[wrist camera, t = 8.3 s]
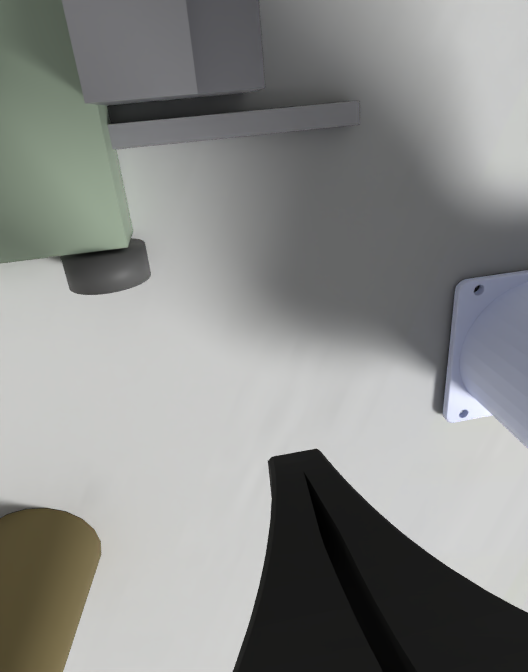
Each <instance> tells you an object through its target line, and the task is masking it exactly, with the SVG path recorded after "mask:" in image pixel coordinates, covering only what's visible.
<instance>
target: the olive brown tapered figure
mask: <svg viewBox="0 0 528 672" xmlns="http://www.w3.org/2000/svg"><path fill="white" fill-rule="evenodd" d="M100 556H101V541H100V540H99V538H98V536H97V534H96V532H95V530H94V529H93V528H92V527H91V526H90V525H88V524H87V523H86V522H85V521H84V520H83V519H81V518H79V517H76V516H74V515H72V514H70V513H68V512H64V511H59V510H54V509H48V508H41V509H25V510H21V511H18V512H14V513H10V514H7V515H5V516H4V517H2V518H0V672H63V670H64V667H65V664H66V661H67V658H68V655H69V652H70V649H71V646H72V643H73V639H74V636H75V633H76V630H77V627H78V624H79V621H80V618H81V615H82V612H83V609H84V606H85V602H86V599H87V596H88V593H89V590H90V587H91V584H92V581H93V578H94V575H95V572H96V569H97V566H98V562H99V559H100Z"/></svg>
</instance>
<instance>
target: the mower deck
mask: <svg viewBox="0 0 528 672" xmlns="http://www.w3.org/2000/svg"><path fill="white" fill-rule="evenodd" d="M351 125H360V101H347V102H337V103H326V104H316V105H305V106H295V107H284V108H274V109H263V110H253V111H242V112H232V113H221V114H211V115H200V116H190V117H179V118H169V119H158V120H148V121H137V122H126V123H116V124H111V122H110V118H109V113H108V108H107V105H96V104H86V103H85V101H84V97H83V93H82V88H81V84H80V79H79V75H78V70H77V66H76V62H75V57H74V53H73V48H72V44H71V39H70V35H69V31H68V26H67V22H66V17H65V13H64V8H63V4H62V0H0V263H8V262H16V261H24V260H32V259H40V258H48V257H55V256H61V260H62V264H63V267H64V271H65V274H66V278H67V281H68V285H69V288H70V290H71V291H72V292H74V293H77V294H83V295H98V294H107V293H113V292H118V291H122V290H126V289H129V288H132V287H135V286H137V285H139V284H142V283H143V282H145V281H146V280H148V279H149V278H150V276H151V272H150V267H149V262H148V257H147V252H146V246H145V242H144V241H142V240H139V239H132V238H131V236H132V233H133V229H132V224H131V219H130V214H129V209H128V204H127V200H126V195H125V190H124V185H123V180H122V175H121V171H120V166H119V161H118V156H117V151H116V149H124V148H134V147H144V146H154V145H164V144H174V143H183V142H193V141H203V140H213V139H223V138H233V137H243V136H252V135H262V134H272V133H282V132H292V131H302V130H312V129H321V128H331V127H341V126H351Z"/></svg>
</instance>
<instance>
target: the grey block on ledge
mask: <svg viewBox="0 0 528 672" xmlns="http://www.w3.org/2000/svg"><path fill="white" fill-rule="evenodd" d="M62 4H63V8H64V13H65V17H66V22H67V26H68V31H69V35H70V39H71V44H72V48H73V53H74V57H75V62H76V66H77V70H78V75H79V79H80V84H81V88H82V93H83V97H84V101H85V103H86V104H96V105H118V104H129V103H140V102H151V101H162V100H173V99H184V98H195V97H207V96H218V95H229V94H240V93H248V92H252V91H256V90H259V89H263V88H265V78H264V64H263V51H262V37H261V23H260V10H259V0H62Z"/></svg>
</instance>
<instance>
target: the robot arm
mask: <svg viewBox="0 0 528 672" xmlns="http://www.w3.org/2000/svg"><path fill="white" fill-rule="evenodd" d="M478 285H479V286H480V287H479V289H478V290H477V291H476V292H474V289H475V287H476V286H478ZM462 410H464V411H463V412H462V413H460V412H461V411H462ZM459 413H460V414H459ZM492 415H493V416H494V417H495V418H496V419H497V420H498V421H499V422H500V423H501V424H502V425H503V426H504V427H505V428H507V429H508V430H509V431H510V432H511V433H512V434H513V435H514V436H515V437H516V438H517V439H518V440H519V441H520V442H521V443H522V444H523V445H524V446H526V447H527V448H528V270H525V271H518V272H511V273H504V274H497V275H490V276H484V277H477V278H470V279H465V280H462V281H461V282H459V283H458V285H457V286H456V289H455V296H454V306H453V316H452V326H451V336H450V346H449V356H448V366H447V375H446V385H445V395H444V405H443V417H444V418H445V419H446V420H447V421H448V422H450V423H454V422H459V421H464V420H470V419H475V418H481V417H486V416H492ZM268 466H269V476H270V486H271V495H272V504H271V520H270V528H269V536H268V543H267V550H266V556H265V561H264V566H263V571H262V576H261V580H260V585H259V589H258V593H257V596H256V600H255V604H254V608H253V612H252V615H251V619H250V622H249V625H248V629H247V632H246V635H245V638H244V641H243V643H242V646H241V649H240V652H239V655H238V658H237V661H236V664H235V667H234V670H233V672H528V613H527V612H525V611H523V610H521V609H519V608H517V607H515V606H513V605H511V604H510V603H508V602H506V601H504V600H502V599H501V598H499V597H497V596H495V595H493V594H492V593H490V592H488V591H486V590H484V589H483V588H481V587H480V586H478V585H476V584H475V583H473V582H472V581H470V580H468V579H467V578H465V577H464V576H462V575H460V574H459V573H457V572H456V571H454V570H452V569H451V568H449V567H448V566H446V565H445V564H443V563H442V562H441V561H439V560H438V559H436V558H435V557H433V556H432V555H431V554H429V553H428V552H426V551H425V550H424V549H422V548H421V547H420V546H418V545H417V544H416V543H414V542H413V541H412V540H411V539H409V538H408V537H407V536H406V535H404V534H403V533H402V532H401V531H399V530H398V529H397V528H396V527H395V526H393V525H392V524H391V523H390V522H389V521H388V520H387V519H385V518H384V517H383V516H382V515H381V514H380V513H379V512H378V511H376V510H375V509H374V508H373V507H372V506H371V505H370V504H369V503H368V502H367V501H366V500H365V499H364V498H363V497H362V496H361V495H360V494H359V493H358V492H357V491H356V490H355V489H354V488H353V487H352V486H351V485H350V484H349V483H348V482H347V481H346V480H345V479H344V478H343V477H342V476H341V475H340V473H339V472H338V471H337V470H336V469H335V468H334V467H333V466H332V464H331V463H330V462H329V461H328V460H327V459H326V457H325V456H324V455H323V454H322V452H321V451H319V450H318V449H312V450H307V451H301V452H296V453H290V454H285V455H280V456H274V457H271V458H270V459H269V461H268Z"/></svg>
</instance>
